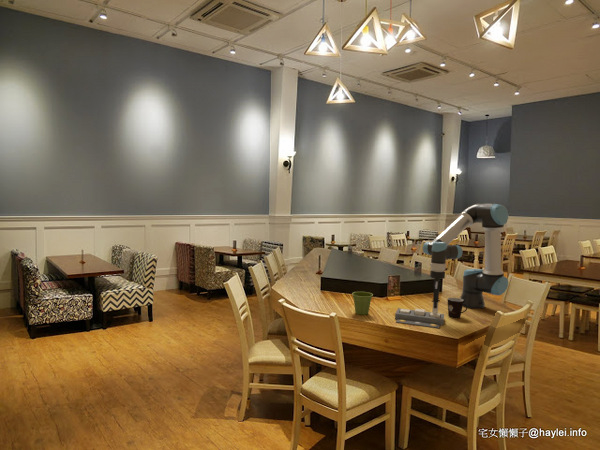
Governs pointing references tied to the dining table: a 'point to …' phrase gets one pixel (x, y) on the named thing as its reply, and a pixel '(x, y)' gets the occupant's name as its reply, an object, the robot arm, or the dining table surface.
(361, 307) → the plant pot
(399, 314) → the button board
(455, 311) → the coffee mug
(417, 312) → the button middle
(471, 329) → the dining table surface
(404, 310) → the button far
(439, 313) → the button near
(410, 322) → the pattern card
